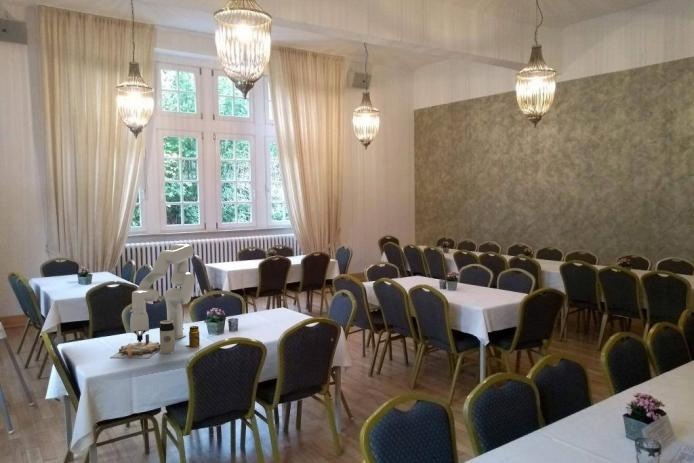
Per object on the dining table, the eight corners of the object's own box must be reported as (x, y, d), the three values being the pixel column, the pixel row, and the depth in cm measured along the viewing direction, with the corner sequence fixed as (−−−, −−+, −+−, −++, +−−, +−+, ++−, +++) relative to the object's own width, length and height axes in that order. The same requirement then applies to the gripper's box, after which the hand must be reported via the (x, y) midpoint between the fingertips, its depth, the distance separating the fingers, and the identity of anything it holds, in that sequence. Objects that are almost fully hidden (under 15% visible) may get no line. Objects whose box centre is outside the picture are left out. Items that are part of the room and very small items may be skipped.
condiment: (201, 346, 328) (201, 327, 327) (187, 349, 323) (187, 329, 323) (197, 344, 334) (197, 324, 333) (184, 346, 330) (183, 326, 329)
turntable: (132, 343, 333) (131, 332, 333) (168, 344, 330) (168, 333, 330) (110, 354, 310) (110, 343, 310) (149, 355, 307) (149, 344, 307)
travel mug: (162, 350, 321) (161, 320, 320) (176, 349, 322) (175, 319, 320) (158, 354, 313) (157, 323, 312) (172, 353, 314) (171, 322, 313)
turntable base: (131, 345, 332) (130, 336, 332) (166, 345, 331) (166, 336, 331) (109, 358, 306) (109, 348, 306) (148, 358, 305) (147, 348, 304)
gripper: (125, 313, 320) (126, 344, 322) (152, 311, 325) (152, 342, 326) (126, 310, 328) (127, 340, 329) (152, 309, 332) (153, 338, 333)
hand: (140, 341), depth 327 cm, fingers closed
